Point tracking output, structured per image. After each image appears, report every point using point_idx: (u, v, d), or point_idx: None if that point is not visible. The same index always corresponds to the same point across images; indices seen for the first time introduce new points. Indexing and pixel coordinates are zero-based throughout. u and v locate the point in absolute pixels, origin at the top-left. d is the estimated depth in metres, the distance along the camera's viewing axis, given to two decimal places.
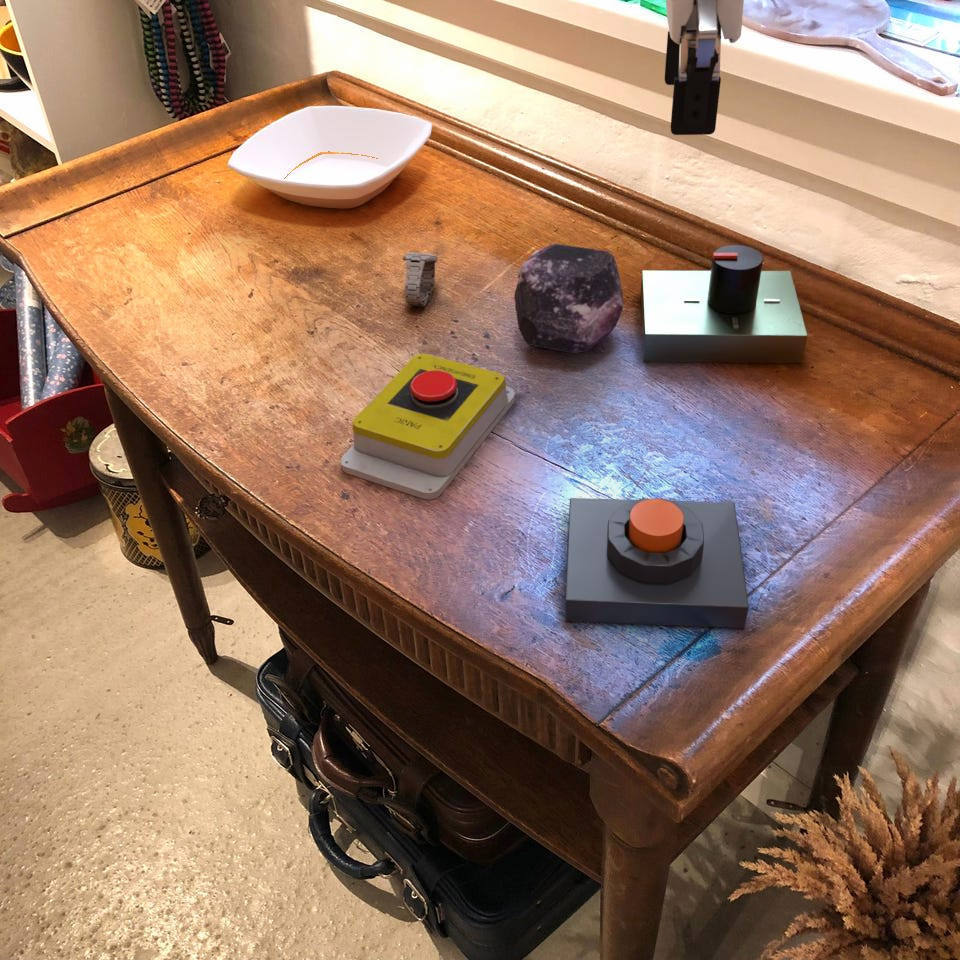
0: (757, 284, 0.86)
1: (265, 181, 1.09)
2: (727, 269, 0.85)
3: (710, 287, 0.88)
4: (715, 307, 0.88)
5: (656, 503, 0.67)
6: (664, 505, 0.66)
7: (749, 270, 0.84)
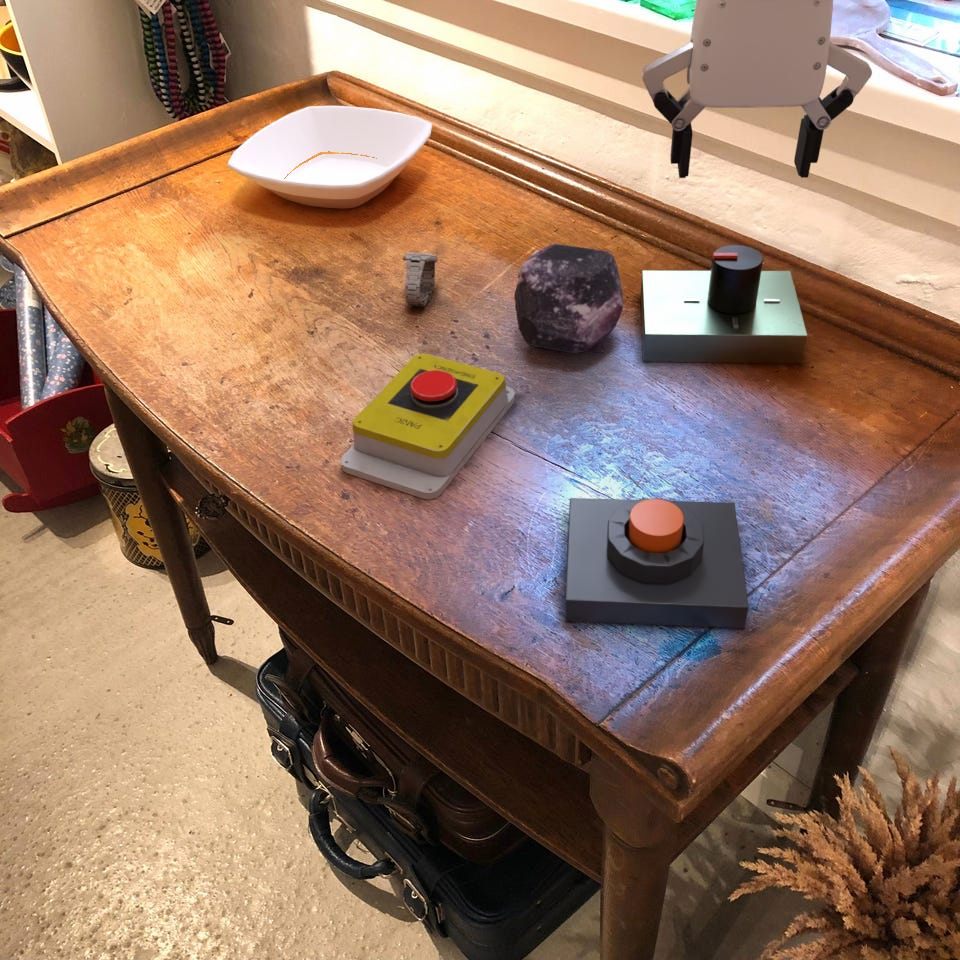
0: (757, 284, 0.86)
1: (265, 181, 1.09)
2: (727, 269, 0.85)
3: (710, 287, 0.88)
4: (715, 307, 0.88)
5: (656, 503, 0.67)
6: (664, 505, 0.66)
7: (749, 270, 0.84)
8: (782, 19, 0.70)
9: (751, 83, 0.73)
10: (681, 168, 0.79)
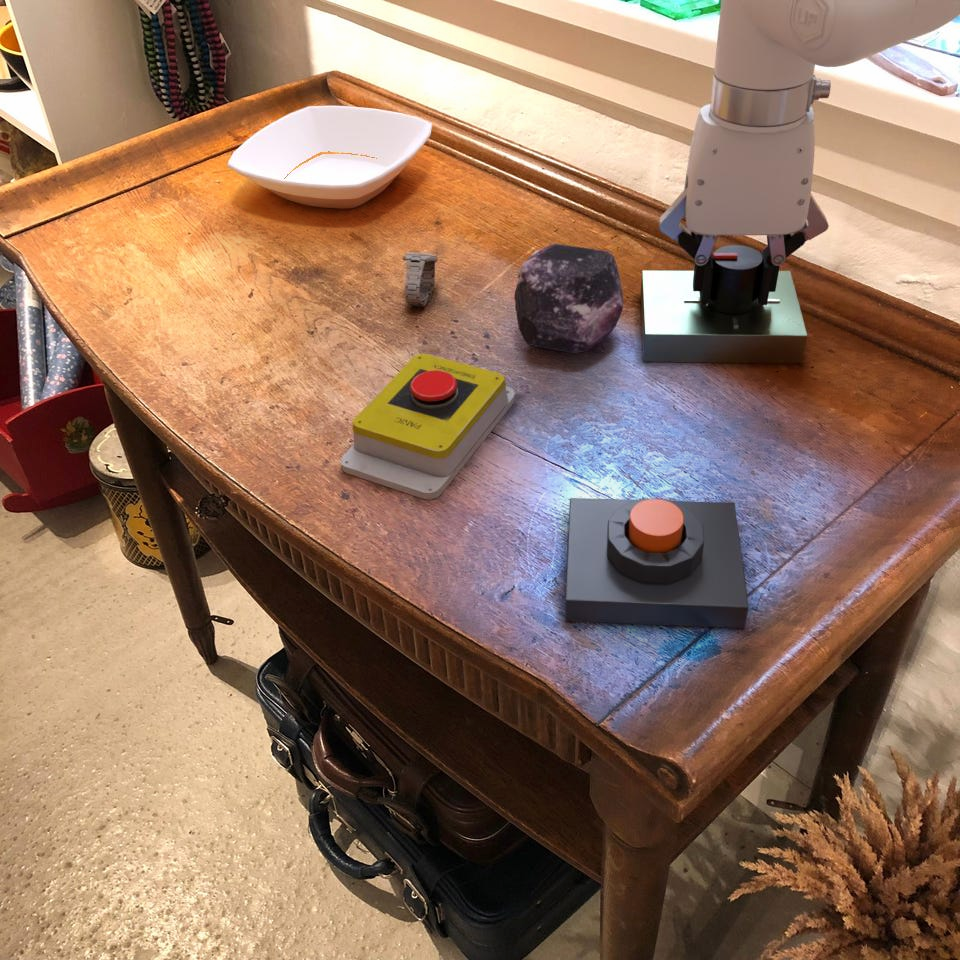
0: (757, 284, 0.86)
1: (265, 181, 1.09)
2: (727, 269, 0.85)
3: None
4: (715, 307, 0.88)
5: (656, 503, 0.67)
6: (664, 505, 0.66)
7: (749, 270, 0.84)
8: (768, 164, 0.77)
9: (741, 216, 0.81)
10: (703, 296, 0.87)
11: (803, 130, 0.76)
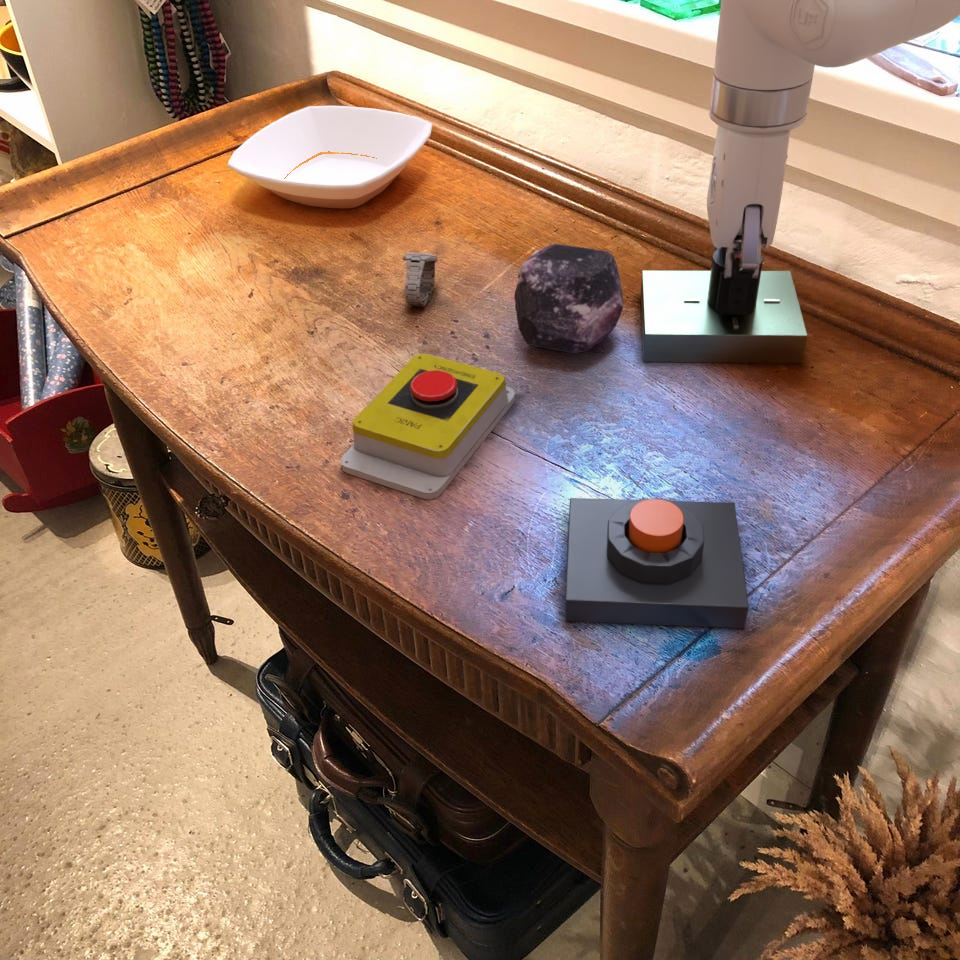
0: None
1: (265, 181, 1.09)
2: (761, 263, 0.85)
3: None
4: None
5: (656, 503, 0.67)
6: (664, 505, 0.66)
7: None
8: None
9: None
10: (753, 304, 0.86)
11: None
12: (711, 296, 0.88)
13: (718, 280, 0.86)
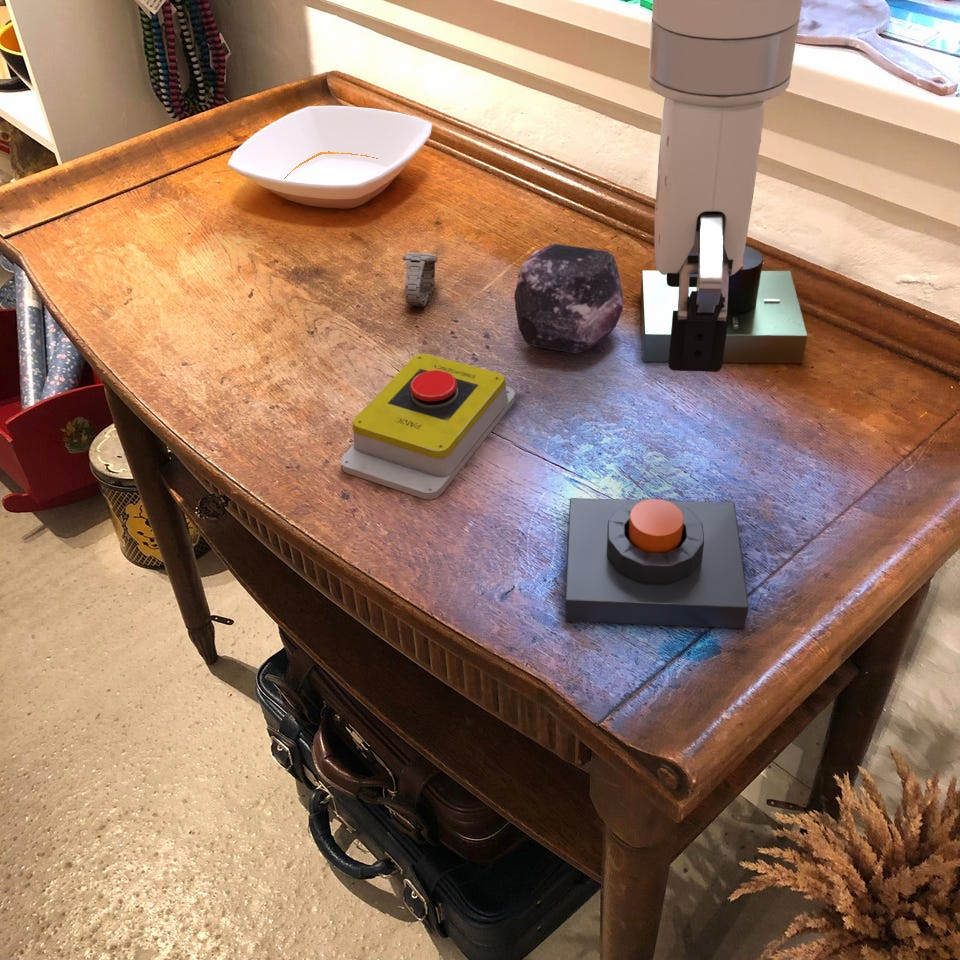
0: None
1: (265, 181, 1.09)
2: (761, 264, 0.85)
3: (741, 297, 0.86)
4: (750, 308, 0.87)
5: (656, 503, 0.67)
6: (664, 505, 0.66)
7: (760, 253, 0.86)
8: None
9: None
10: (722, 358, 0.59)
11: None
12: None
13: None
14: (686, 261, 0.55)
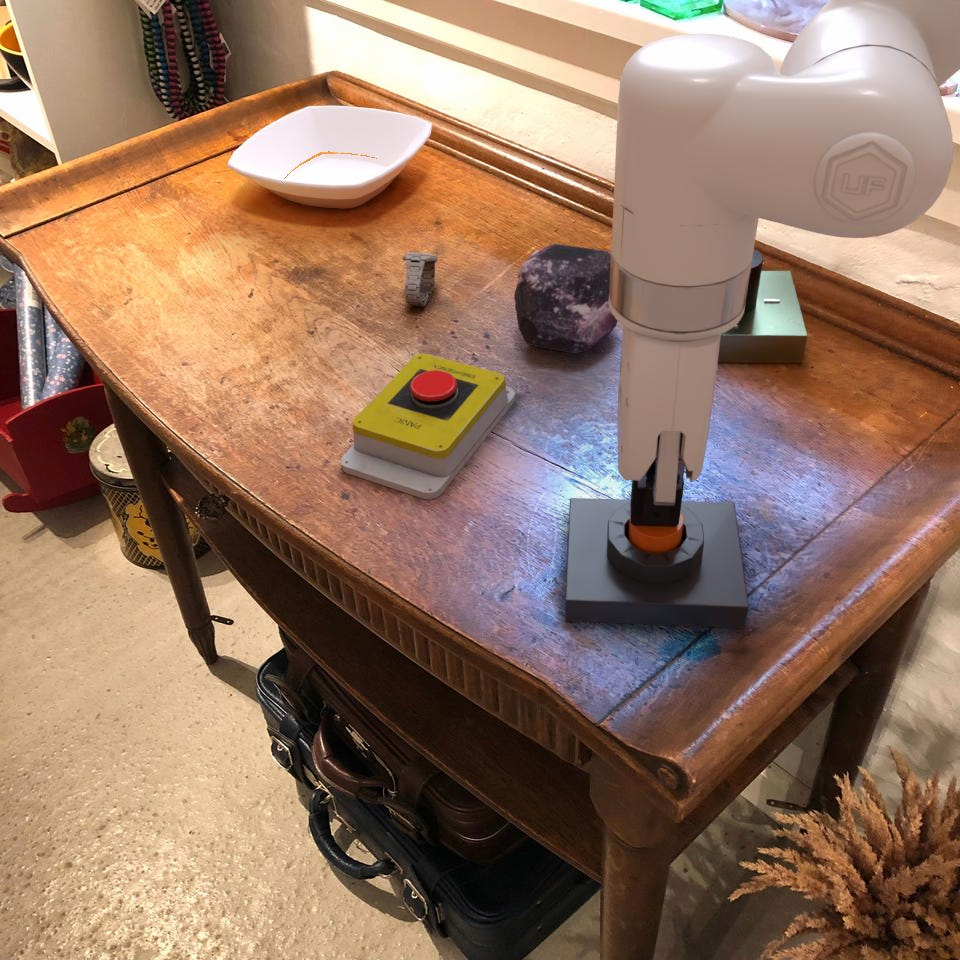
0: None
1: (265, 181, 1.09)
2: (761, 264, 0.85)
3: None
4: (750, 308, 0.87)
5: None
6: None
7: (760, 253, 0.86)
8: None
9: None
10: (679, 516, 0.64)
11: None
12: None
13: None
14: None
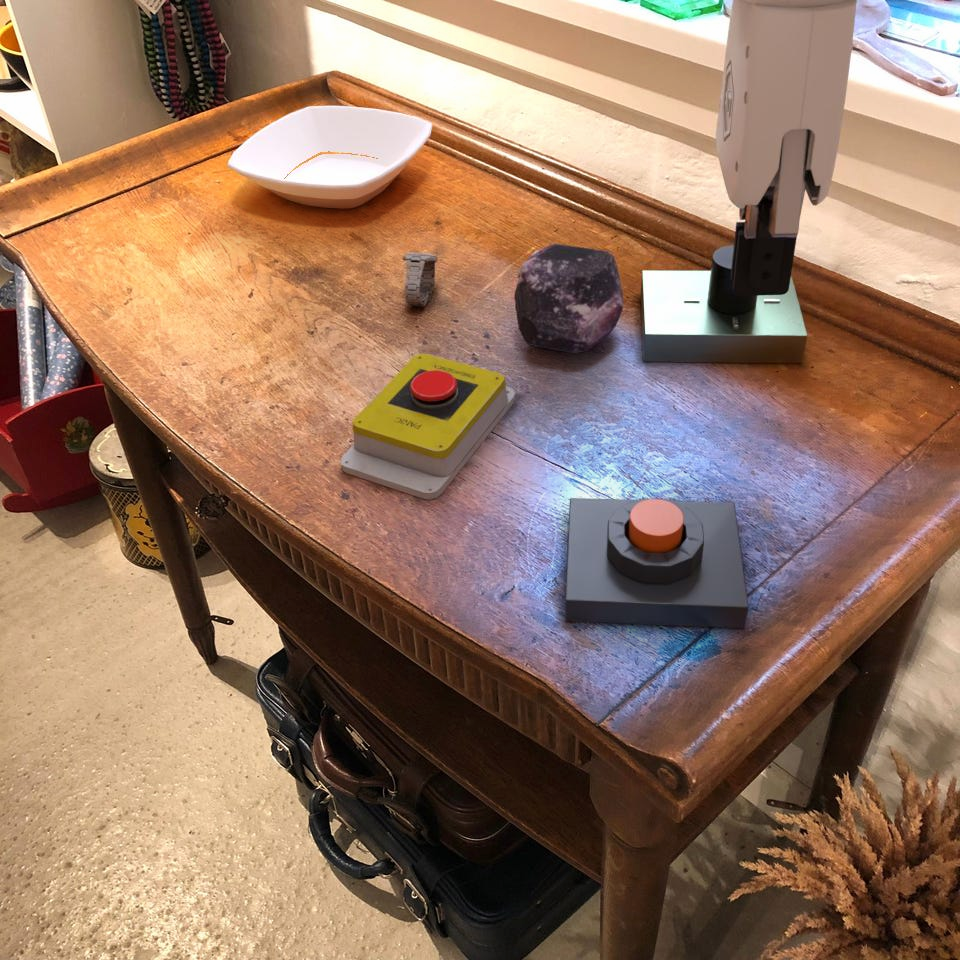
0: None
1: (265, 181, 1.09)
2: None
3: (741, 297, 0.86)
4: (750, 308, 0.87)
5: (656, 503, 0.67)
6: (664, 505, 0.66)
7: None
8: None
9: None
10: (789, 279, 0.57)
11: None
12: (711, 295, 0.88)
13: (717, 280, 0.86)
14: None
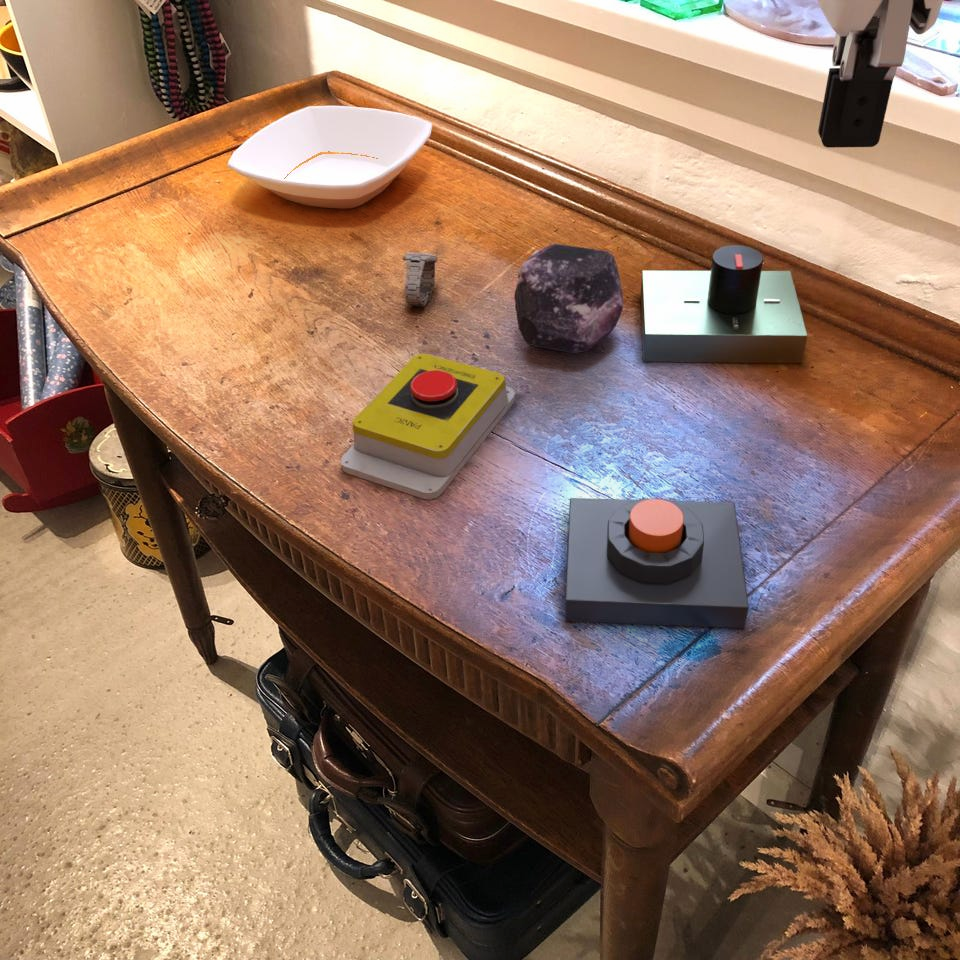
0: None
1: (265, 181, 1.09)
2: (761, 264, 0.85)
3: (741, 297, 0.86)
4: (750, 308, 0.87)
5: (656, 503, 0.67)
6: (664, 505, 0.66)
7: (760, 253, 0.86)
8: None
9: None
10: (880, 130, 0.56)
11: None
12: (711, 295, 0.88)
13: (717, 280, 0.86)
14: None
